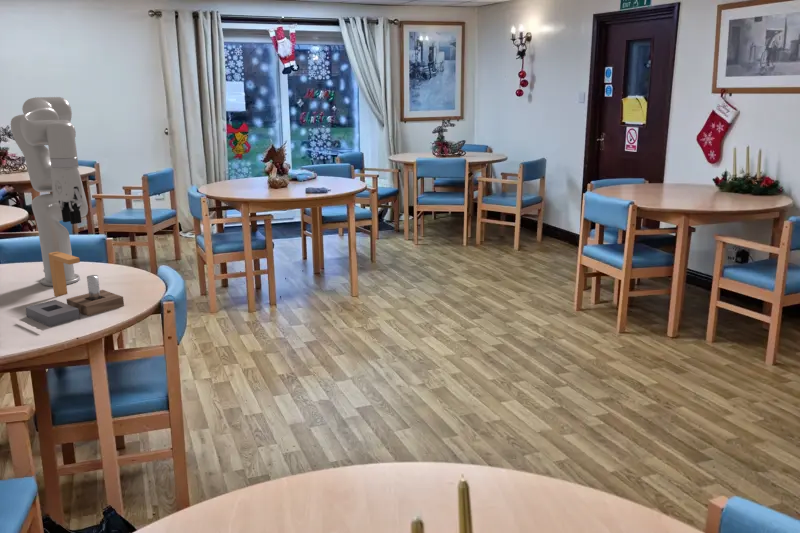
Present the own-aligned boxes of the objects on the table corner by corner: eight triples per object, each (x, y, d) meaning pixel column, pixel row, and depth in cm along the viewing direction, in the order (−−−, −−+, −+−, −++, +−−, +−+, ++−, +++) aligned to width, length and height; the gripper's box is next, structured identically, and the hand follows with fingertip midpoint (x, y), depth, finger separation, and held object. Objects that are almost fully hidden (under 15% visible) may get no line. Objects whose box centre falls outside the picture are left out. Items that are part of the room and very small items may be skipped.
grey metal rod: (88, 307, 214) (84, 276, 211) (98, 304, 217) (94, 274, 214) (93, 309, 212) (90, 278, 210) (103, 306, 215) (100, 276, 212)
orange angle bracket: (53, 296, 227) (47, 253, 223) (63, 293, 230) (58, 251, 226) (74, 304, 219) (68, 260, 215) (85, 301, 222) (79, 257, 218)
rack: (27, 319, 206) (25, 307, 205) (56, 311, 213) (55, 299, 212) (50, 329, 198) (48, 316, 197) (80, 321, 205) (78, 308, 204)
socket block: (68, 311, 214) (66, 298, 212) (103, 301, 223) (102, 289, 222) (88, 319, 207) (86, 306, 205) (124, 308, 216) (123, 296, 215)
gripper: (38, 162, 209) (47, 221, 214) (66, 166, 199) (74, 228, 204) (62, 160, 215) (70, 217, 220) (90, 164, 205) (98, 223, 210)
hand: (72, 221), depth 212 cm, fingers open, 3 cm apart
